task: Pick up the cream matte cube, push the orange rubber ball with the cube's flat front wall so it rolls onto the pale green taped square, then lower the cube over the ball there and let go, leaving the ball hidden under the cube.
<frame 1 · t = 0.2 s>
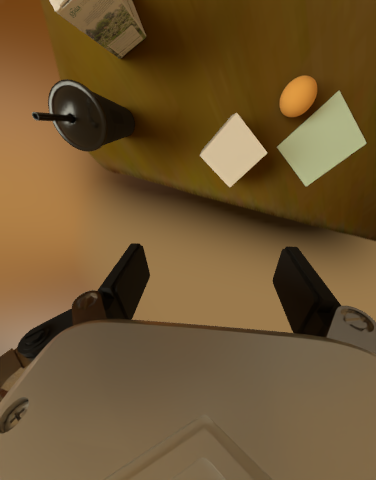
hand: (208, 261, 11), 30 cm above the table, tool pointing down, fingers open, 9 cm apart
drinking cup: (123, 121, 33), on the table
mark: (319, 145, 31), on the table
cream matte cube: (228, 149, 34), on the table
ball: (297, 97, 26), on the table
syrup box: (124, 27, 26), on the table
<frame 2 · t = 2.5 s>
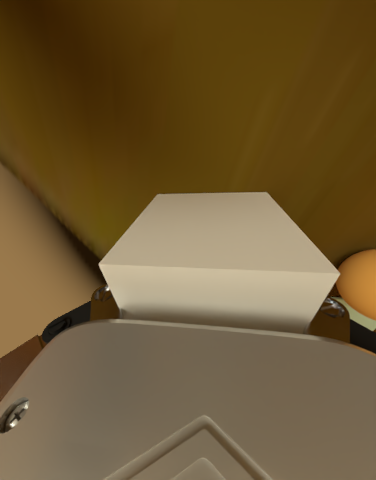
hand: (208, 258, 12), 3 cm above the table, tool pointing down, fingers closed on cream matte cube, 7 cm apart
mark: (313, 328, 19), on the table
cream matte cube: (209, 238, 14), on the table, touching gripper
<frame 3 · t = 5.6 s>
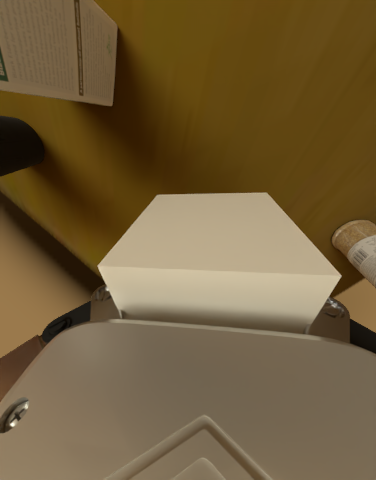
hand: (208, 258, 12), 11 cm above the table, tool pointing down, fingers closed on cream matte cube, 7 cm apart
drinking cup: (25, 141, 20), on the table
sprinkles bottle: (350, 233, 21), on the table
cream matte cube: (209, 239, 14), point 9 cm above the table, touching gripper
syrup box: (87, 58, 15), on the table
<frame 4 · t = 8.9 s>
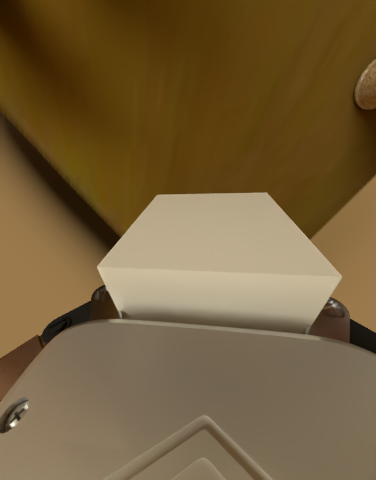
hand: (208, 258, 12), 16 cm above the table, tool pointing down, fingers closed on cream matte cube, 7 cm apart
cream matte cube: (209, 239, 14), point 14 cm above the table, touching gripper
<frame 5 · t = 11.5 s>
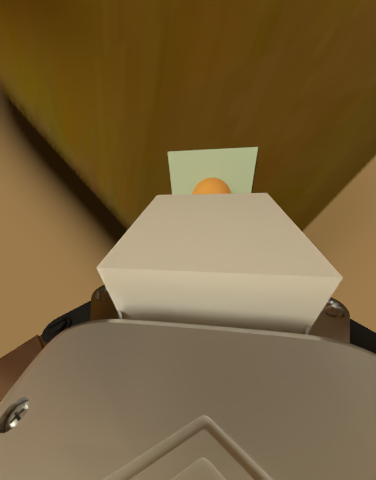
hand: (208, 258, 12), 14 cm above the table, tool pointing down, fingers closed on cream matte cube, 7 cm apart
mark: (210, 193, 23), on the table
cream matte cube: (209, 239, 14), point 12 cm above the table, touching gripper
ball: (211, 198, 21), on the table
when the fingers open (3 cm above the table, at t = 14.0 s): cream matte cube stays where it is, on the table.
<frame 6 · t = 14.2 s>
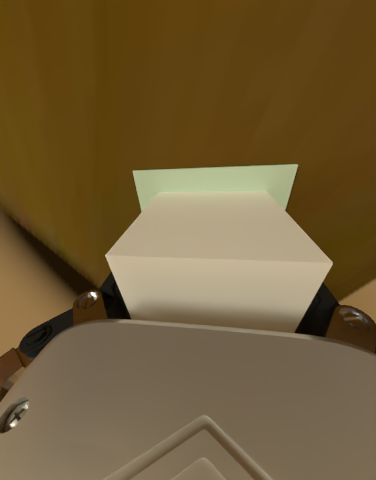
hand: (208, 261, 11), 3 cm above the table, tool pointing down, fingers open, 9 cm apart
mark: (209, 236, 14), on the table
cream matte cube: (209, 235, 14), on the table
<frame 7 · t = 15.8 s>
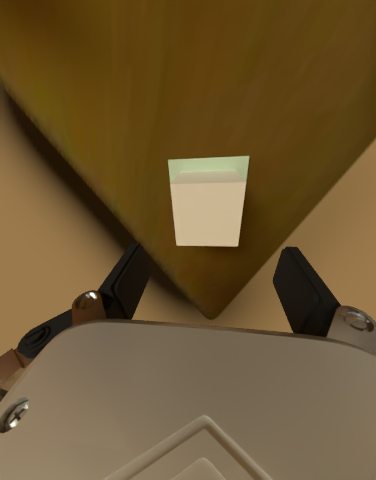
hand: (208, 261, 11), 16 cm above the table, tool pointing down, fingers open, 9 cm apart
mark: (207, 197, 25), on the table
cream matte cube: (207, 197, 25), on the table
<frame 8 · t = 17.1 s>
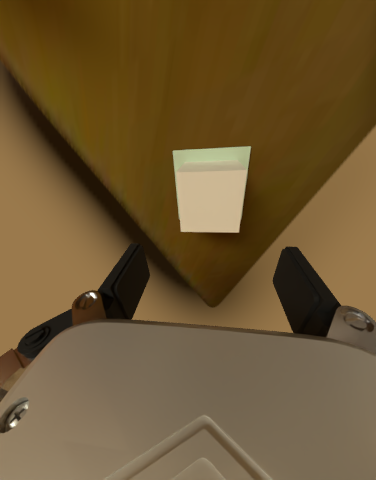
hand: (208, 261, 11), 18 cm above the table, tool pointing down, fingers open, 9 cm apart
mark: (210, 187, 27), on the table
cream matte cube: (210, 186, 27), on the table
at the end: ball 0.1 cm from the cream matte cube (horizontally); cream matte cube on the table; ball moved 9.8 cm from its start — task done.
